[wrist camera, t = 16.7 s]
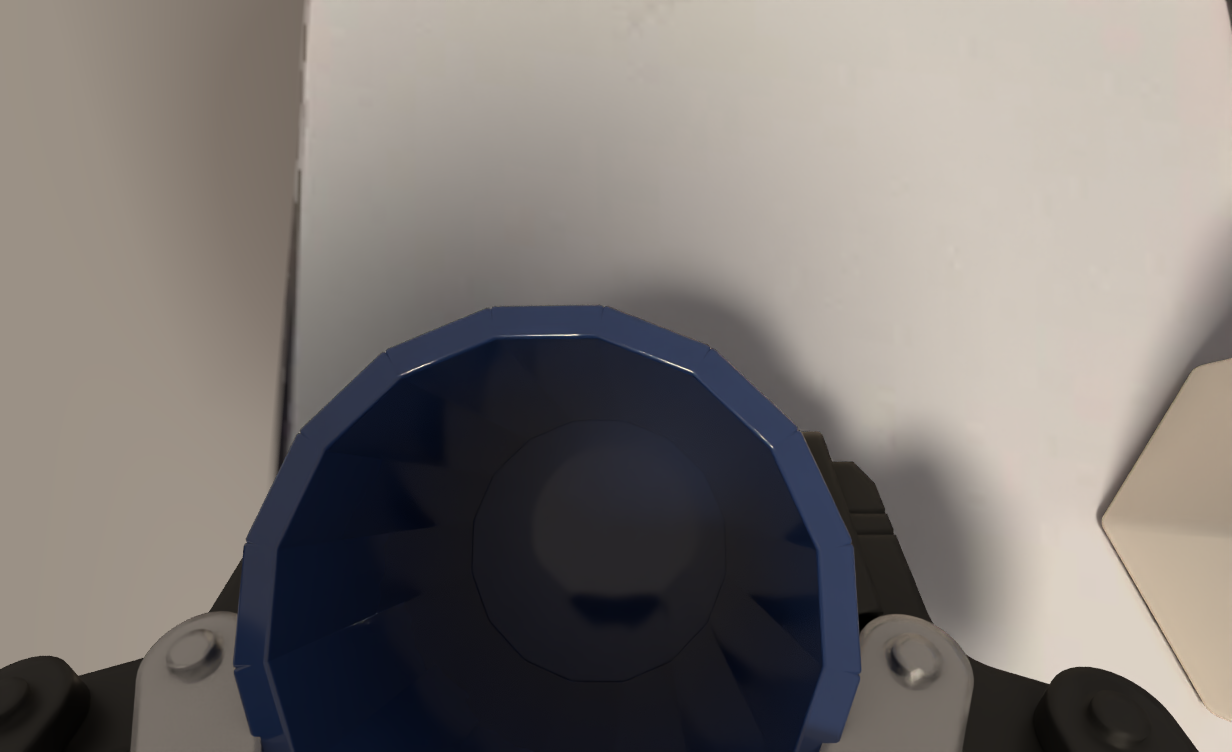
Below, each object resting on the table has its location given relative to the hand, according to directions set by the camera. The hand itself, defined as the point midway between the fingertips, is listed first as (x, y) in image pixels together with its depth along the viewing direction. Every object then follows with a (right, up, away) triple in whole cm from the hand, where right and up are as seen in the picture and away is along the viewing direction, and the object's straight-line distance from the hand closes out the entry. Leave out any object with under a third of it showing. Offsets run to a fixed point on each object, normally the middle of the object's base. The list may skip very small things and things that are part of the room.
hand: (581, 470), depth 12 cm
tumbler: (0, -2, +4) cm, 5 cm away
